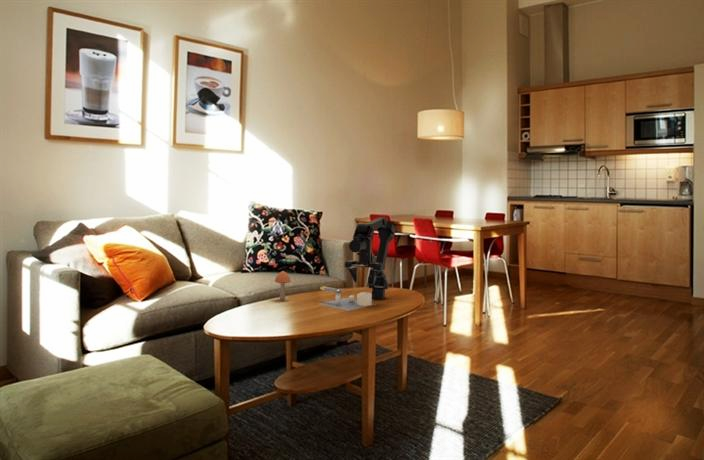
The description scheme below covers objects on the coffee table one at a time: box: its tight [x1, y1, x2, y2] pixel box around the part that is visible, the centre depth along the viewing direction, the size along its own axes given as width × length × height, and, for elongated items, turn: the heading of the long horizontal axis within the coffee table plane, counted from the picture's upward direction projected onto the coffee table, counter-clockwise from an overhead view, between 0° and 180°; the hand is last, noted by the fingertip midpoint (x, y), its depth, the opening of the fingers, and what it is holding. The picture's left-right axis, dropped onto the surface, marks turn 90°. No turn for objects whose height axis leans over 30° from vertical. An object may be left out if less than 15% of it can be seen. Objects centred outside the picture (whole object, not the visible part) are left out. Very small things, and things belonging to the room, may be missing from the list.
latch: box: [320, 286, 343, 294], centre depth 240 cm, size 12×4×1 cm, turn 49°
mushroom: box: [274, 270, 292, 302], centre depth 252 cm, size 8×8×15 cm
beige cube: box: [356, 291, 373, 305], centre depth 239 cm, size 5×5×5 cm
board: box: [318, 292, 376, 312], centre depth 240 cm, size 19×20×7 cm
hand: (364, 283), depth 238 cm, fingers open, 9 cm apart
